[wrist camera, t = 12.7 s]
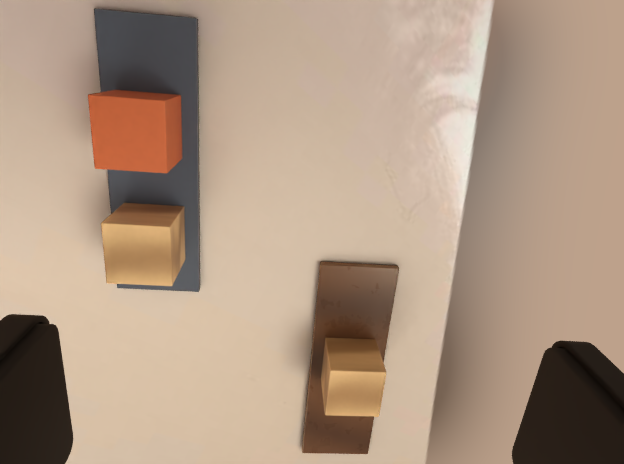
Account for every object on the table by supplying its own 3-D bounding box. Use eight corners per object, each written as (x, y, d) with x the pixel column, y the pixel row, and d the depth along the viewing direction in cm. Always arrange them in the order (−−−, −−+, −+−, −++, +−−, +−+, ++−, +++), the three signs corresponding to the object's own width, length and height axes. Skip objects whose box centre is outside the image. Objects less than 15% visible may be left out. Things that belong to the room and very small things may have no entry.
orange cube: (114, 89, 30) (87, 94, 26) (181, 94, 30) (164, 100, 26) (119, 154, 32) (94, 168, 27) (182, 158, 32) (167, 173, 28)
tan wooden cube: (123, 202, 33) (100, 222, 29) (184, 206, 33) (170, 226, 29) (127, 256, 34) (106, 283, 30) (185, 259, 35) (172, 286, 31)
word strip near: (97, 9, 29) (93, 8, 28) (198, 18, 29) (196, 18, 29) (119, 284, 36) (116, 288, 35) (200, 288, 36) (198, 292, 36)
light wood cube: (325, 337, 38) (330, 370, 34) (376, 339, 38) (386, 372, 34) (320, 378, 40) (324, 415, 36) (369, 380, 40) (379, 417, 36)
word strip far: (320, 261, 36) (320, 264, 36) (397, 265, 37) (399, 268, 36) (301, 448, 43) (302, 453, 43) (366, 449, 44) (367, 454, 43)
